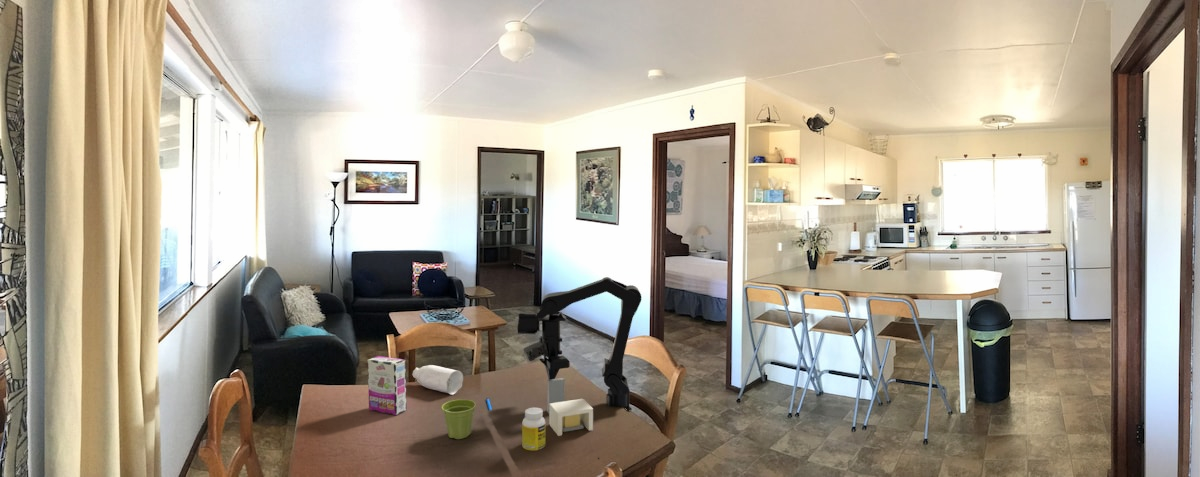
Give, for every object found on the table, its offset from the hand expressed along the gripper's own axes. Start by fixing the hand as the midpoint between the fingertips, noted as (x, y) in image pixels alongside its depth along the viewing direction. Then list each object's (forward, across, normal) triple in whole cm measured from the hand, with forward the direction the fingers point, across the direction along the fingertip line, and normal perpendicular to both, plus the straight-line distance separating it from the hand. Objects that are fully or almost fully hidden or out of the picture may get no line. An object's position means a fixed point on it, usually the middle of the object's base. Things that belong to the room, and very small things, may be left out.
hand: (551, 382), depth 180 cm
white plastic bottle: (+9, -30, -32) cm, 45 cm away
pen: (+9, -6, -18) cm, 21 cm away
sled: (+8, +13, 0) cm, 15 cm away
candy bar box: (+9, -17, -48) cm, 52 cm away
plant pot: (+9, +9, -30) cm, 32 cm away
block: (+7, +18, 0) cm, 19 cm away
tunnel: (+8, +15, 0) cm, 17 cm away
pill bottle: (+9, +26, -13) cm, 30 cm away
